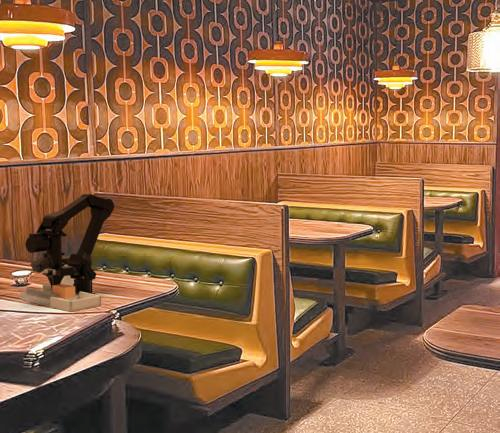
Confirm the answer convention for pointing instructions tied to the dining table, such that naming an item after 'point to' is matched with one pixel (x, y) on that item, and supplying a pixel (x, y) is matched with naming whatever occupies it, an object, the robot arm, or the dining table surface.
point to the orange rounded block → (57, 288)
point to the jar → (66, 279)
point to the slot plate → (42, 295)
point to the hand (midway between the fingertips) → (54, 292)
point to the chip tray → (76, 302)
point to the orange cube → (66, 291)
